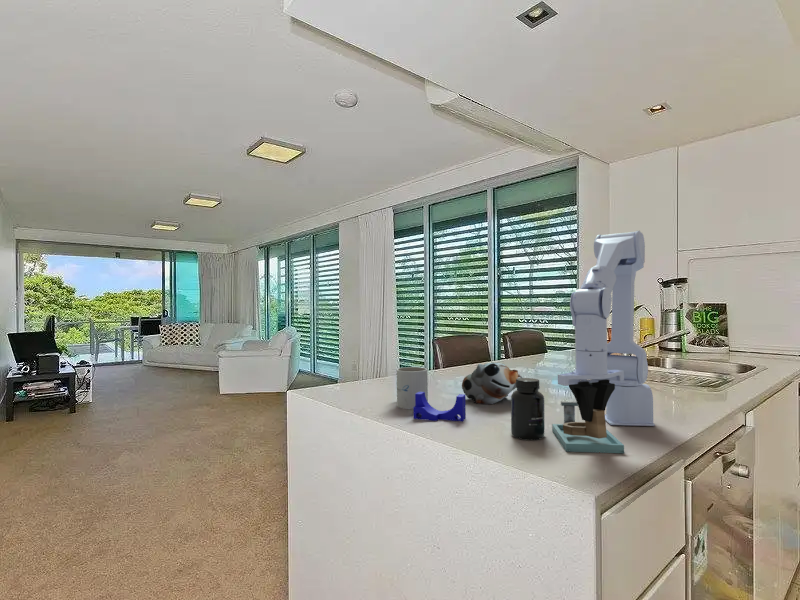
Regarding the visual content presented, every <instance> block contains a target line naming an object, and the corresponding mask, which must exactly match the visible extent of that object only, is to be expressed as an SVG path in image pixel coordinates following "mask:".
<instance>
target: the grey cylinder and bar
mask: <svg viewBox="0 0 800 600" xmlns="http://www.w3.org/2000/svg"><path fill="white" fill-rule="evenodd" d="M560 406H561V407H563V424H564V423H569V422H576V411H575V410H576V408H575V407H578V404H577V401H560Z"/></svg>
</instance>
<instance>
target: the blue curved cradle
mask: <svg viewBox="0 0 800 600" xmlns="http://www.w3.org/2000/svg"><path fill="white" fill-rule="evenodd" d="M412 410H413V414H412V415H413V419H414V420H421V421H434V422H437V421H439V420H442V421H454V422H464V421H465V420H466V418H467V417H466V416H467V414H466V413H467V411H466V395H465V393H464V394H463V393H461V394H460V393H459V394H458V395H457V396H456V397H455V402H454V405H453V407H452V408H451V409H448V410H439V409H436V408H434V407H433V406H432V404H431V405H430V403H429V401H428V402H427V400H426V397H425V392H418V393H416V394H415V407H413V409H412Z"/></svg>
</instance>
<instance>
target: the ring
mask: <svg viewBox="0 0 800 600" xmlns="http://www.w3.org/2000/svg"><path fill="white" fill-rule="evenodd" d="M605 412H606V411H605ZM605 412H604V410H597V409H593V419H592V422H588V421H585V420H584V421H575V422H569V423H564V422H563V432H564V434H568V435H575V436H590V437H594V438H598V439H599V438H606V437H607V433H606V429H607V425H606V422H607V421H606V420H605V415H606V413H605Z"/></svg>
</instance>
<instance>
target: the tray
mask: <svg viewBox="0 0 800 600" xmlns="http://www.w3.org/2000/svg"><path fill="white" fill-rule="evenodd" d="M563 424H564V423H563ZM563 424H562V423H552V424H551V426H552V427H551V428H552V429H551V430H552V433H553V434H554V436H555V437H556V439H557V440H558V442H559V443H560V444H561V447H562V448H563V450H564V451H565V452H573V453H574V452H575V453H577V452H578V453H599V452H600V453H602V454H603V453H604V454H605V453H608V454H625V445H624V444H623V443H622V442H621V441H620V440H619V439H618V438H617V437H616V436H615V435H614V434H612V433H611V432H610V431H609V430H608V429H607V428H606V433H607V437H606V438H599V439H598V438H594V437H590V436H575V435H568V434H564V432H563Z"/></svg>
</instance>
